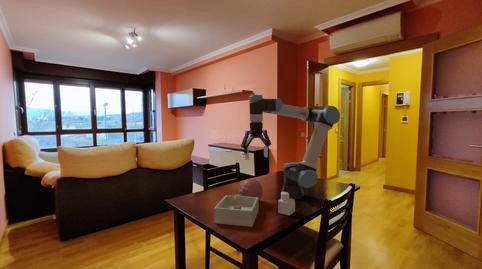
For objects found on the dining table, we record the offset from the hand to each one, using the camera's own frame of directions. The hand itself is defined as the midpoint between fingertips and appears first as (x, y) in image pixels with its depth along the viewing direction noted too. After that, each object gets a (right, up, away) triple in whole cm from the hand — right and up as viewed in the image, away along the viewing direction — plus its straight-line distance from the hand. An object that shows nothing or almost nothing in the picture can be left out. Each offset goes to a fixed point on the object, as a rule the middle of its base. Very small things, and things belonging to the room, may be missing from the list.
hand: (256, 158), depth 132 cm
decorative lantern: (-4, -30, +12) cm, 33 cm away
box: (-11, -32, -7) cm, 34 cm away
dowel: (-11, -32, -7) cm, 34 cm away
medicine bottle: (+17, -31, -3) cm, 35 cm away
